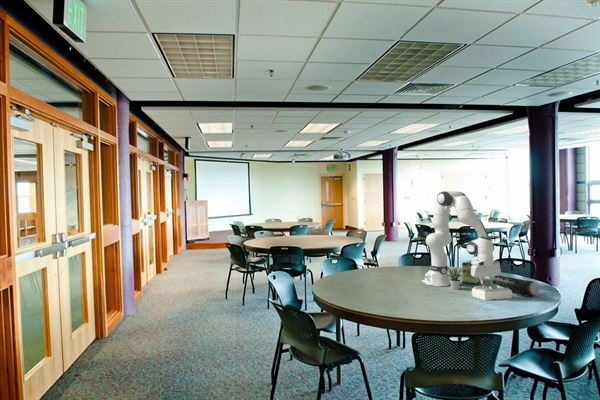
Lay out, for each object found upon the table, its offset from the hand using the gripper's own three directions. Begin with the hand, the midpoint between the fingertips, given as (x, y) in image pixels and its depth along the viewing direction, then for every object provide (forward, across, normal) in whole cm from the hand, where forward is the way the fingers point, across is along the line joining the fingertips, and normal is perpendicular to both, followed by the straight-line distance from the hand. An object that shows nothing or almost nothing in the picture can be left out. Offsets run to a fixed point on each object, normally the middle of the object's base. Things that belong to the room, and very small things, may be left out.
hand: (486, 283), depth 249 cm
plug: (+4, 0, 0) cm, 4 cm away
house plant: (+9, +4, -25) cm, 27 cm away
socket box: (+9, -4, 0) cm, 10 cm away
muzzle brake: (+10, -26, -4) cm, 28 cm away
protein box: (+10, -22, -40) cm, 47 cm away
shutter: (+4, -8, 0) cm, 9 cm away
